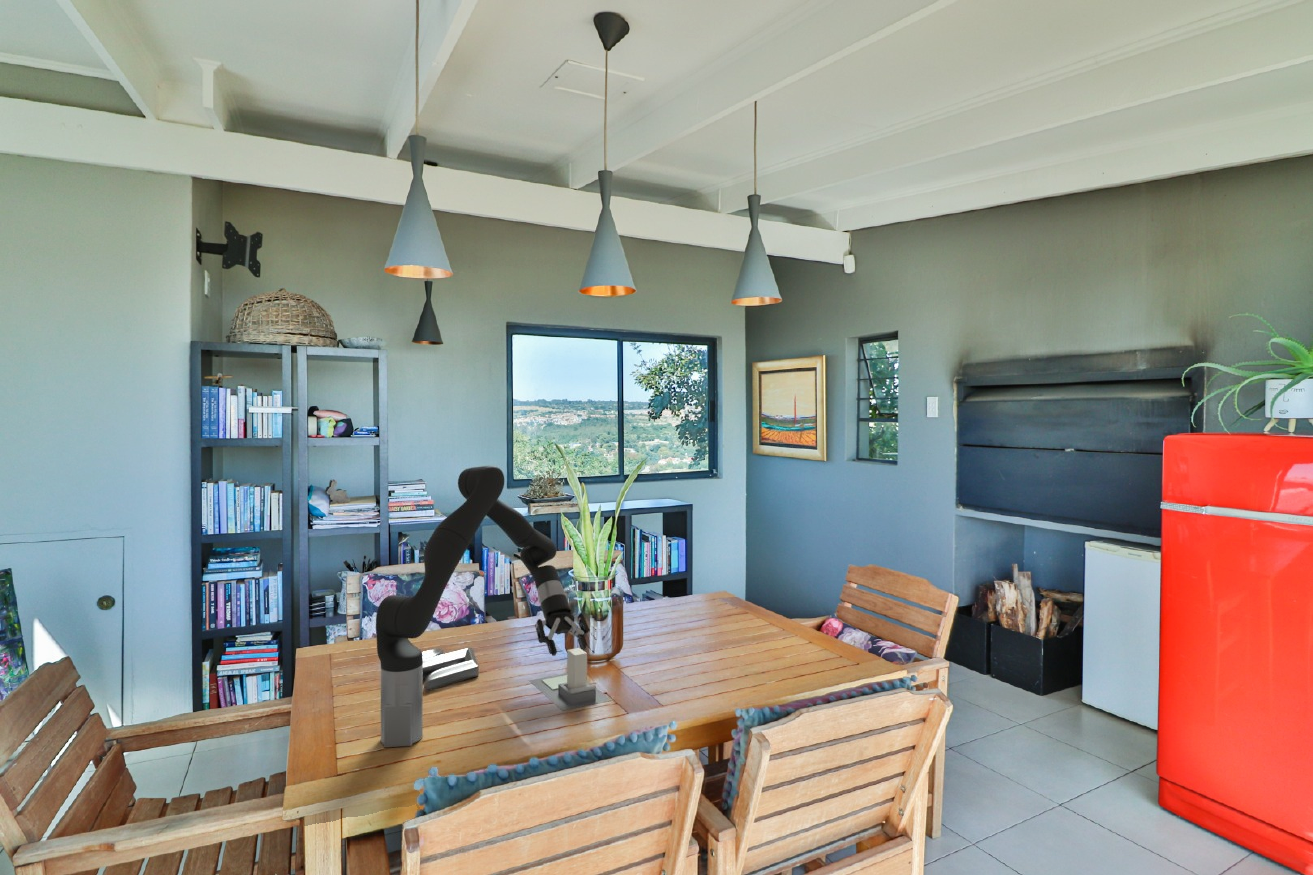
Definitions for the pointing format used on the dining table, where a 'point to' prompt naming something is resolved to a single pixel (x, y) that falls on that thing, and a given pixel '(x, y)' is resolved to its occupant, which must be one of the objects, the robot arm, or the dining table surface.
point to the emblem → (448, 667)
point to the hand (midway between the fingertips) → (569, 651)
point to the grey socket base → (568, 692)
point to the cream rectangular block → (576, 668)
